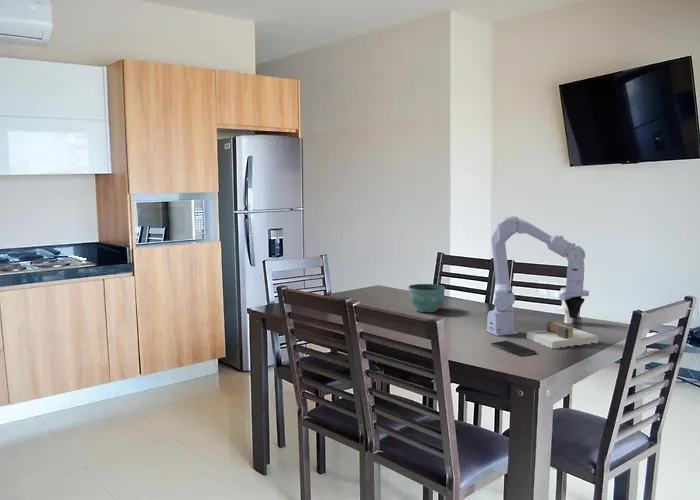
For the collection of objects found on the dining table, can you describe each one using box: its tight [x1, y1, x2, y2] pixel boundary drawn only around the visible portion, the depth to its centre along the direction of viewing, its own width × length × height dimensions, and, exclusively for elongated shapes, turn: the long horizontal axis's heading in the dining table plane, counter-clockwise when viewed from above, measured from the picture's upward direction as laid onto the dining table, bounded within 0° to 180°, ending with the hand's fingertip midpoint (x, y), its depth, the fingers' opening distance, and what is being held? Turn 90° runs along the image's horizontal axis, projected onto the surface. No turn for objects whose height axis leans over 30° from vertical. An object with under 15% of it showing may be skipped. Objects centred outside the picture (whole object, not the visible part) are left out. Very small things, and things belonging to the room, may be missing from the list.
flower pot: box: [408, 283, 446, 313], centre depth 255 cm, size 16×16×11 cm
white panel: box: [526, 326, 600, 349], centre depth 207 cm, size 20×14×6 cm
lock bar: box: [545, 319, 574, 337], centre depth 207 cm, size 12×3×3 cm, turn 19°
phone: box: [490, 340, 537, 357], centre depth 196 cm, size 8×1×15 cm
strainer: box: [559, 287, 574, 324], centre depth 233 cm, size 7×7×15 cm
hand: (573, 317), depth 207 cm, fingers closed
